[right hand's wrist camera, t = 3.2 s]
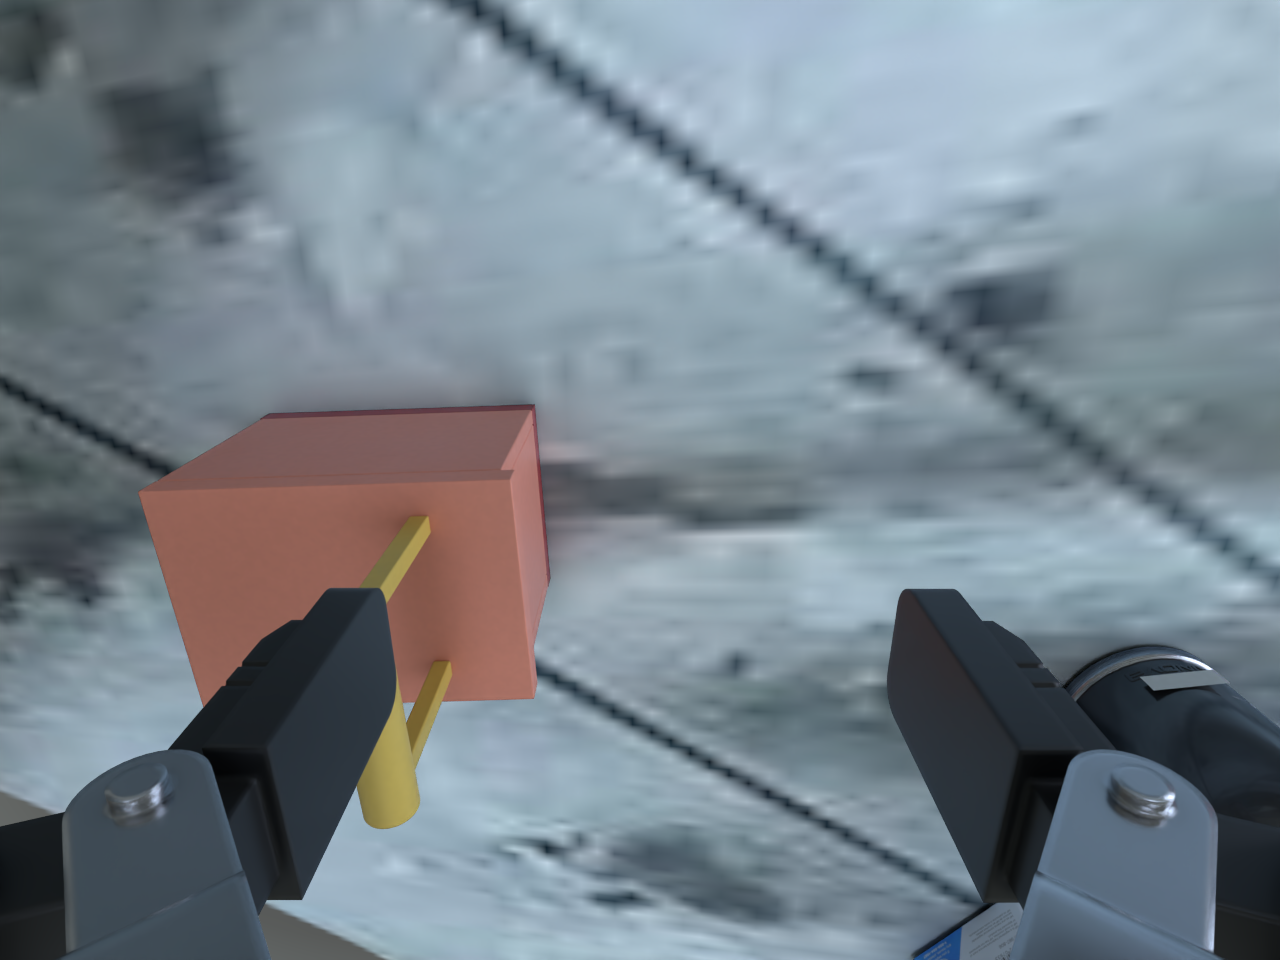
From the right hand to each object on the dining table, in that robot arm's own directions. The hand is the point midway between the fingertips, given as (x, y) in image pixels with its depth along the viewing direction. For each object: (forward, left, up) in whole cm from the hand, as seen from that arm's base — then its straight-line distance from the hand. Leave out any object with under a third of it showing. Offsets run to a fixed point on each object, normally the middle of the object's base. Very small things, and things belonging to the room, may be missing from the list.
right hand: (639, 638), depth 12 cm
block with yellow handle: (-7, +12, -15) cm, 21 cm away
